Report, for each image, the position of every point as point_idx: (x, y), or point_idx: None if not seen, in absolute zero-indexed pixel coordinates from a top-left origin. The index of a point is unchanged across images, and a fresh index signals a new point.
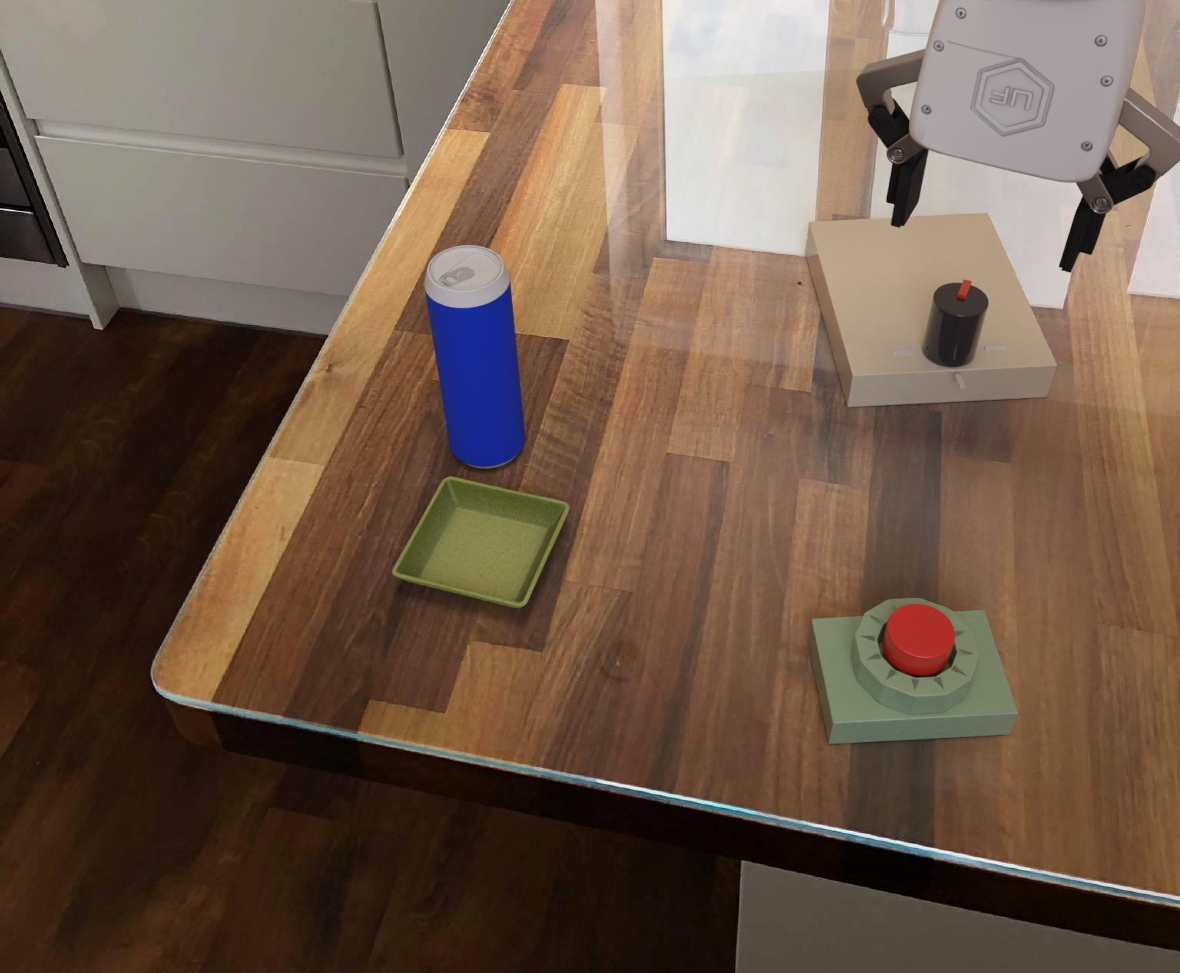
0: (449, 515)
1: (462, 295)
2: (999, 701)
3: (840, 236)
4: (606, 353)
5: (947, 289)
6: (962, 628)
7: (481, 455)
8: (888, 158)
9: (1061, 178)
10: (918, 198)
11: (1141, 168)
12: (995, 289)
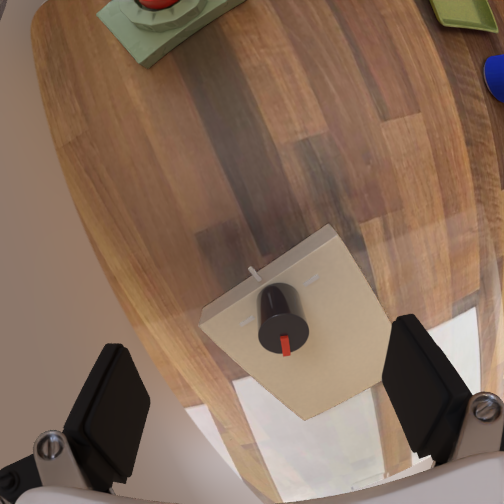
0: (479, 15)
1: None
2: (107, 12)
3: None
4: (483, 189)
5: (299, 339)
6: (136, 17)
7: (497, 55)
8: (491, 394)
9: (61, 497)
10: (385, 382)
11: (12, 502)
12: (272, 372)
